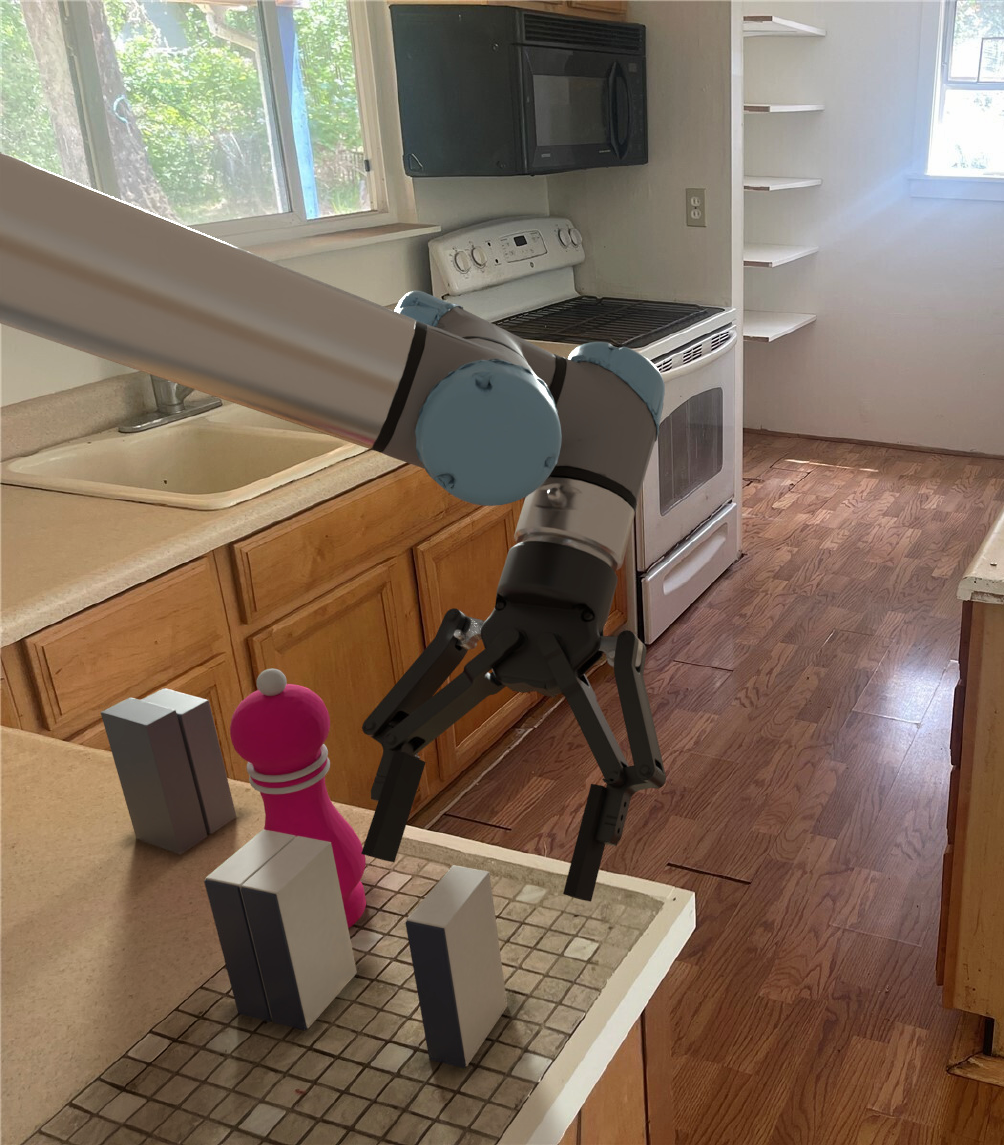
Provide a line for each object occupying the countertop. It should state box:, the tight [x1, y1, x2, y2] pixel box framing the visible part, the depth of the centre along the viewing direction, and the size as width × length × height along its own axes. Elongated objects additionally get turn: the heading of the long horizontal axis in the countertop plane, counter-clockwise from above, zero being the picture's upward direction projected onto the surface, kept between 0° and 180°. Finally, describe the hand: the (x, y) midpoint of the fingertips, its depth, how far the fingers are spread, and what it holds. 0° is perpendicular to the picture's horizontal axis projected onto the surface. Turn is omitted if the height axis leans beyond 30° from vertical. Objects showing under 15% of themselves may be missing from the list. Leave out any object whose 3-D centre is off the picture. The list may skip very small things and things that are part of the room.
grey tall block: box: [203, 828, 358, 1031], centre depth 67 cm, size 5×5×11 cm
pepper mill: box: [229, 668, 367, 929], centre depth 73 cm, size 7×7×20 cm
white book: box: [404, 864, 508, 1069], centre depth 64 cm, size 2×5×11 cm, turn 164°
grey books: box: [100, 687, 237, 855], centre depth 84 cm, size 5×5×12 cm
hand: (474, 878), depth 65 cm, fingers open, 13 cm apart
